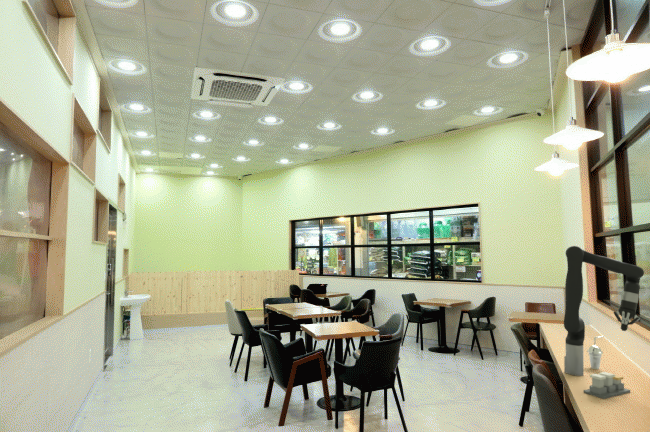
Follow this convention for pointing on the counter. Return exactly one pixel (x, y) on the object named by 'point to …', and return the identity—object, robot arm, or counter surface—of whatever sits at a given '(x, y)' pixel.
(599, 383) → the front key
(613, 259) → the robot arm
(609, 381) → the middle key
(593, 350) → the cup with straw
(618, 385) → the keypad
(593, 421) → the counter surface
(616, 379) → the amber key
